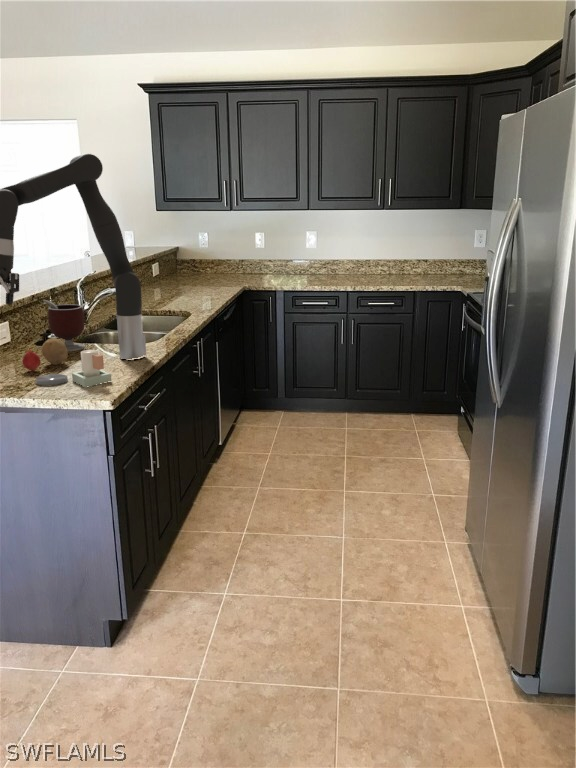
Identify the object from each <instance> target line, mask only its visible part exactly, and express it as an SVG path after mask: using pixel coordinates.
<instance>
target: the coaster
mask: <svg viewBox="0 0 576 768" xmlns="http://www.w3.org/2000/svg"><path fill="white" fill-rule="evenodd" d="M68 379H69V378H68V375H65V374H62V373H60V374H59V373H52V374H45V375H40V376H38V377H36V378H35V384H36V385H37V384H38V386H40V385H55V386H58V385H57V384H60V385H62V384H61V383H63V384H65V383H64V382H66V381H67V382H68ZM67 382H66V383H67Z"/></svg>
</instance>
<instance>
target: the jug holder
mask: <svg viewBox="0 0 576 768" xmlns="http://www.w3.org/2000/svg"><path fill="white" fill-rule="evenodd" d="M71 379H72V382H73V381H74V382H73V383H75V382H76V383H75V384H77V383H78V384H77V385H79V384H80V385H79V386H81V385H82V386H81V387H83V386H84V387H86V388H88V387H87V386H91V387H93V386H92V385H96V384H100V383H104V382H108V381H112V373H110V372H108V371H105V370H104V369H100V375H96V376H91V377H84V376H83V373H82V370H80V371H76V372H71ZM96 386H97V385H96ZM84 387H83V388H84Z"/></svg>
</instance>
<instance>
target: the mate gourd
mask: <svg viewBox="0 0 576 768" xmlns="http://www.w3.org/2000/svg"><path fill="white" fill-rule="evenodd" d="M42 301H43V303H45V304H47V305H49V306H48V311H47V319H48V326H49V329H50V332H51V333H52V334H53V335H54V336H55V337H56V338H58V339H62V340H64V342H63V343H64V344H65V346H66V349H67V352H74V351H75V352H77V351H81V350H83V349H84V350H85V348H86V345H85V344H84V343H79V342H78V343H77V342H74V341H73V340H74V339H76V338H78V337H79V336H81V335H82V333H83V331H85V330H84V329H85V322H86V321H85V313H84V310H83V306H82V305H80V304H72V303H70V304H68V303H67V304H55V303H53V302H51V301H49V300H46V299H43V300H42Z"/></svg>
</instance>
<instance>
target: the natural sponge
mask: <svg viewBox="0 0 576 768" xmlns="http://www.w3.org/2000/svg"><path fill="white" fill-rule="evenodd" d="M64 343H65V342H63V341H62V340H61V339H60V338H58V337H56V338H55V337H50V338H48V339H47V340H45V341H44V342H43V344H42V346H41V349H40V350H41V354H42V356H43V358H45V360H46V361H47V362H49V363H50V364H51V365H54V366H58V365H60V364H61V363H63V362H64V361H66V360H67V359H68V352H69V351H67V349H66V346H65V344H64Z"/></svg>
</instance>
